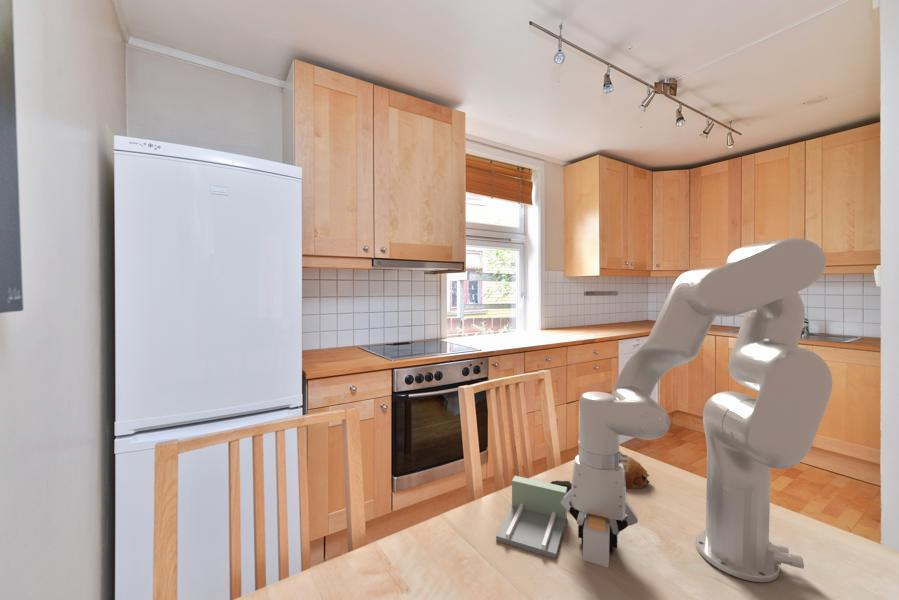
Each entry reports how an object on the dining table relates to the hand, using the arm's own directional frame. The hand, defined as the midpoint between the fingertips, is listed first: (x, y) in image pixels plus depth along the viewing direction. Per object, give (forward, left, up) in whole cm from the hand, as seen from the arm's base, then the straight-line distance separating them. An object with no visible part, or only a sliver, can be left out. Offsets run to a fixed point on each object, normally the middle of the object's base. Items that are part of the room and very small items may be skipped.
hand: (597, 544), depth 74 cm
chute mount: (+13, 0, 0) cm, 13 cm away
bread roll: (-5, -31, -1) cm, 31 cm away
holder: (0, 0, 0) cm, 0 cm away
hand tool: (+4, -16, -1) cm, 16 cm away
